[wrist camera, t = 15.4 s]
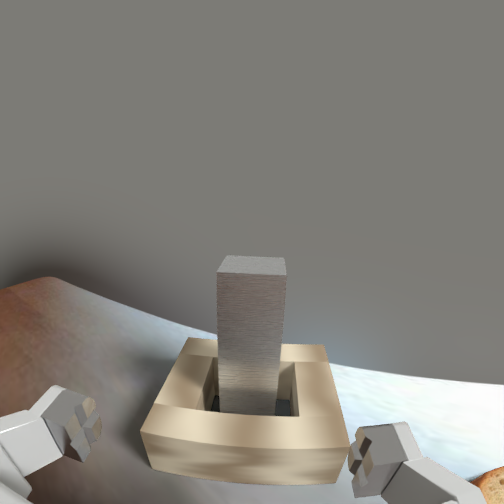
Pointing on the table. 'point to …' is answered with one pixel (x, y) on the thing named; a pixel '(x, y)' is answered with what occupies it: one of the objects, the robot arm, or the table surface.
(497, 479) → the bread slice
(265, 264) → the steel post
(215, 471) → the well block
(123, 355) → the table surface
